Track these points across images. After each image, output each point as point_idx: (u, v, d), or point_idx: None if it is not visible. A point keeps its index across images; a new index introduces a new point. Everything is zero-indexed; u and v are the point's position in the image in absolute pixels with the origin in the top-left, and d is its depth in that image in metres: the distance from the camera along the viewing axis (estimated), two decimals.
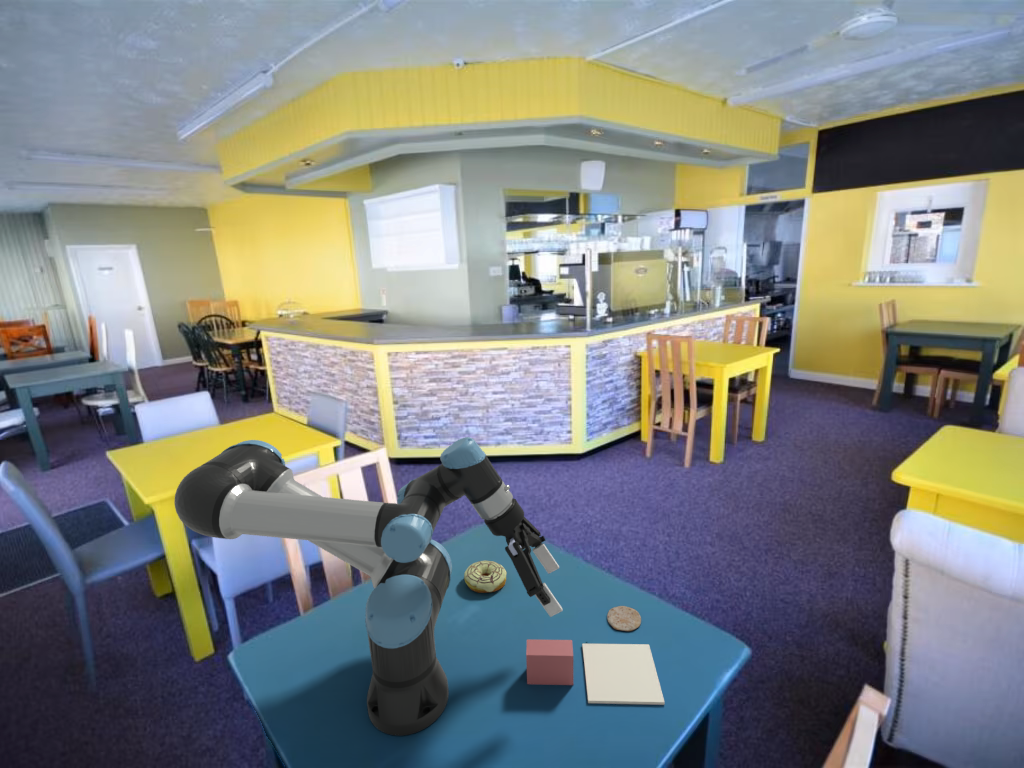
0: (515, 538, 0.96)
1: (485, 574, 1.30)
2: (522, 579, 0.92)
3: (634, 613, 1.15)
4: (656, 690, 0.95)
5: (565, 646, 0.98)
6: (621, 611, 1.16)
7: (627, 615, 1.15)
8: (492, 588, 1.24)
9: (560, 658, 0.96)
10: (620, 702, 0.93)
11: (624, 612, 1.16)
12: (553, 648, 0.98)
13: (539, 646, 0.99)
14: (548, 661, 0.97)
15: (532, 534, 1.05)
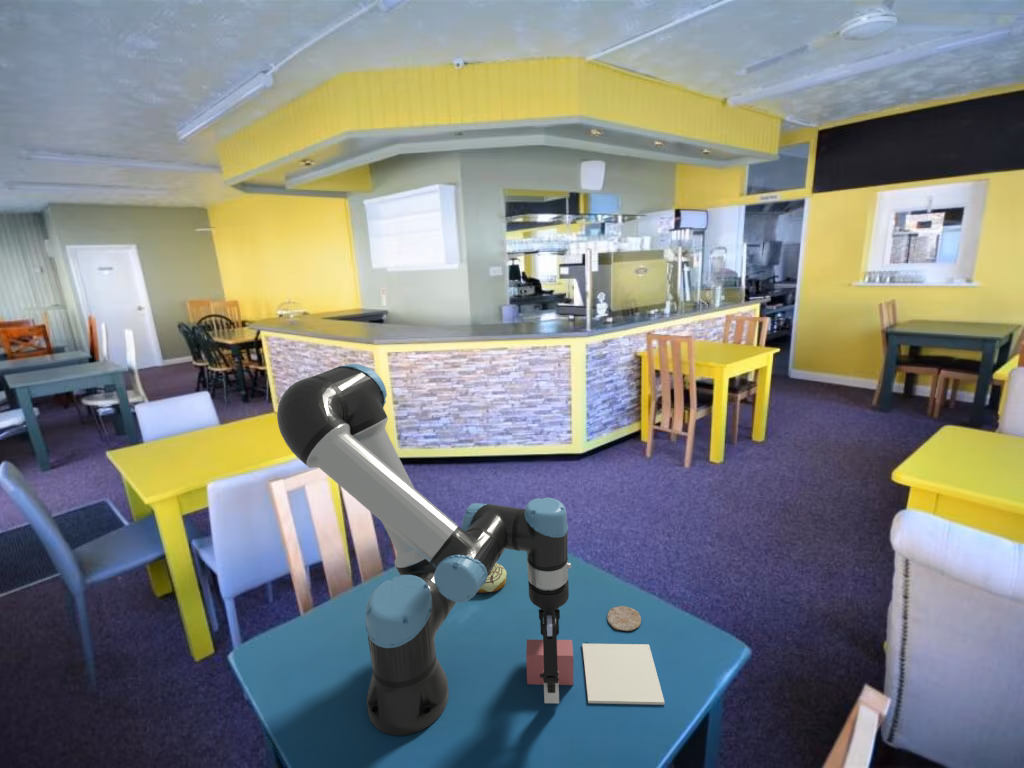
0: (553, 618, 0.92)
1: None
2: (545, 663, 0.89)
3: (634, 614, 1.15)
4: (656, 690, 0.95)
5: (565, 646, 0.98)
6: (621, 611, 1.16)
7: (627, 615, 1.15)
8: (492, 588, 1.24)
9: (560, 658, 0.96)
10: (620, 702, 0.93)
11: (624, 612, 1.16)
12: None
13: (539, 646, 0.99)
14: None
15: None
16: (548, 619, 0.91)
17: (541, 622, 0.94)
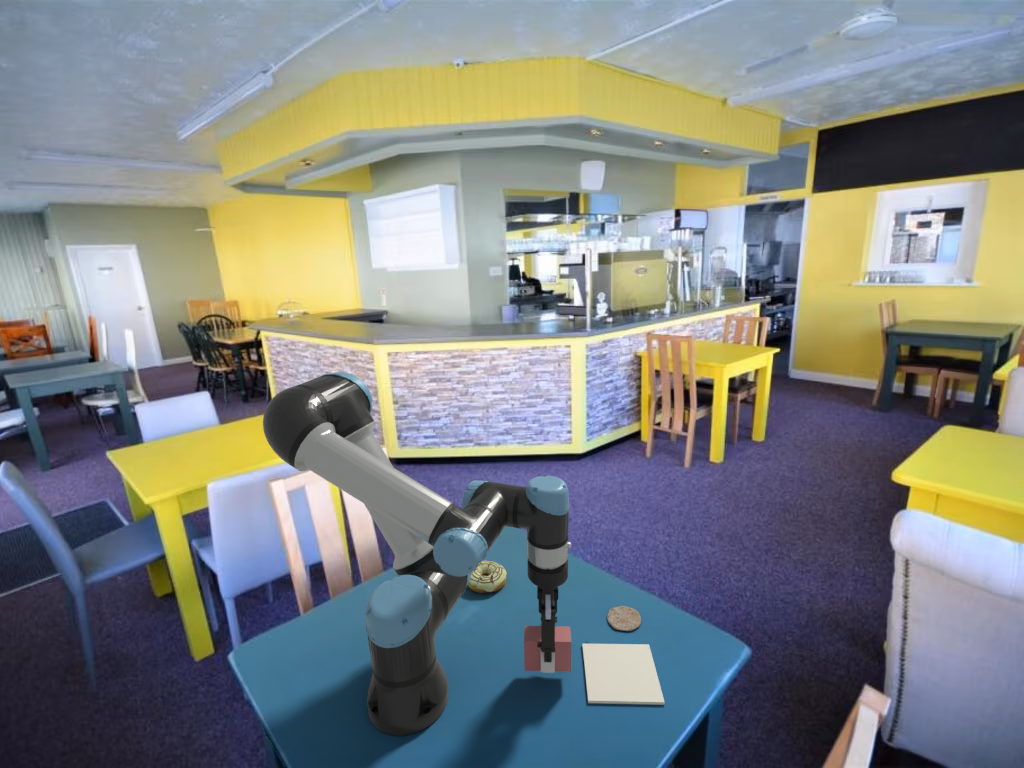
0: (552, 600, 0.91)
1: (485, 574, 1.30)
2: (542, 639, 0.91)
3: (634, 613, 1.15)
4: (656, 690, 0.95)
5: (563, 633, 0.98)
6: (621, 611, 1.16)
7: (627, 615, 1.15)
8: (492, 588, 1.24)
9: (558, 644, 0.96)
10: (620, 702, 0.93)
11: (624, 612, 1.16)
12: None
13: (537, 632, 0.98)
14: None
15: None
16: (547, 602, 0.90)
17: (539, 602, 0.93)
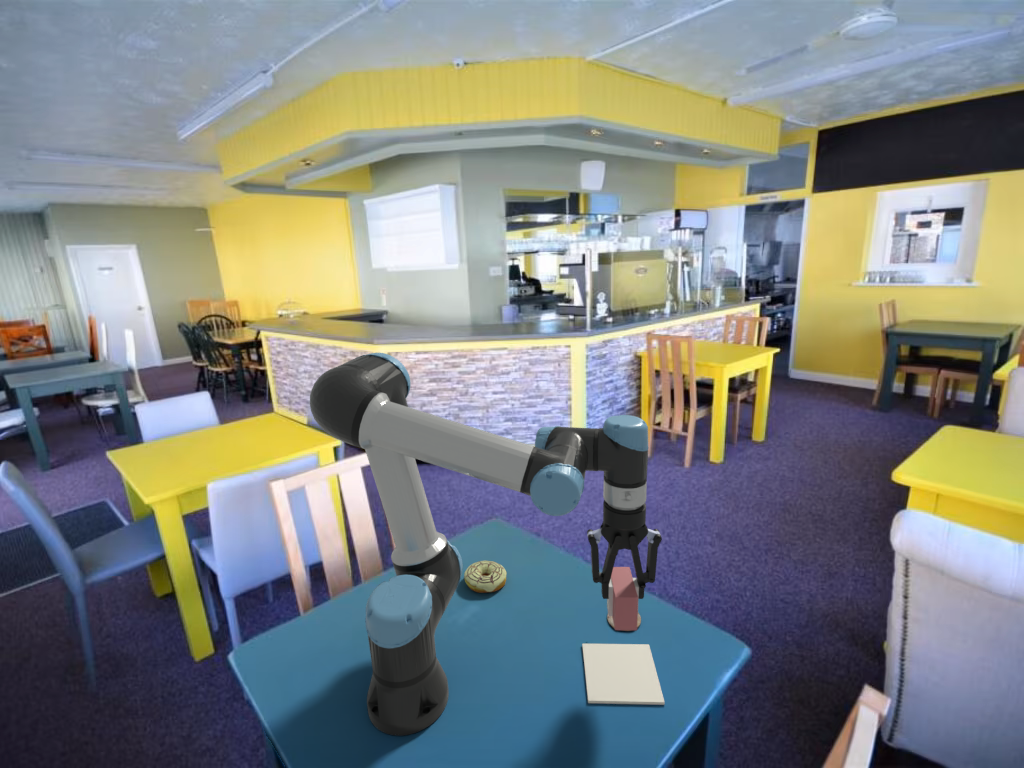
0: (601, 532, 0.91)
1: (485, 574, 1.30)
2: (591, 560, 0.95)
3: None
4: (656, 690, 0.95)
5: (626, 592, 0.92)
6: None
7: None
8: (492, 588, 1.24)
9: (613, 591, 0.93)
10: (620, 702, 0.93)
11: None
12: (622, 584, 0.94)
13: (622, 575, 0.96)
14: None
15: (637, 562, 0.92)
16: (598, 530, 0.92)
17: None
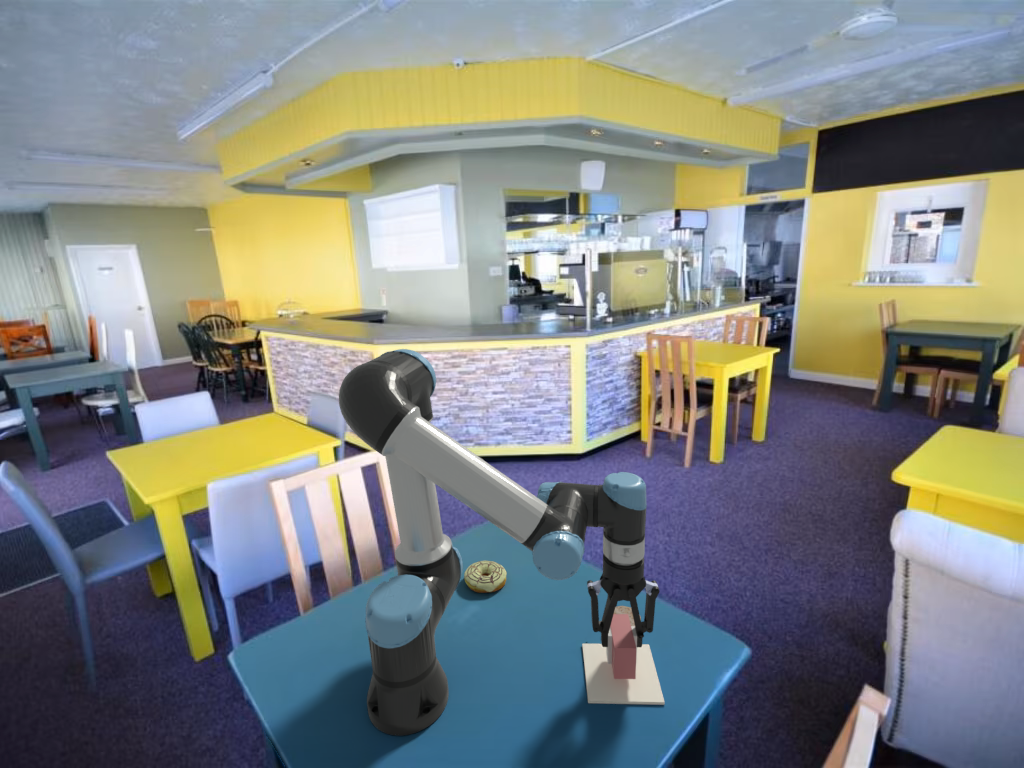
0: (601, 584, 0.94)
1: (485, 574, 1.30)
2: (591, 609, 0.98)
3: None
4: (656, 690, 0.95)
5: (625, 642, 0.94)
6: (620, 611, 1.16)
7: None
8: (492, 588, 1.24)
9: (612, 641, 0.96)
10: (620, 702, 0.93)
11: (623, 612, 1.16)
12: (620, 633, 0.97)
13: (621, 623, 0.99)
14: None
15: (635, 613, 0.95)
16: (598, 581, 0.95)
17: None
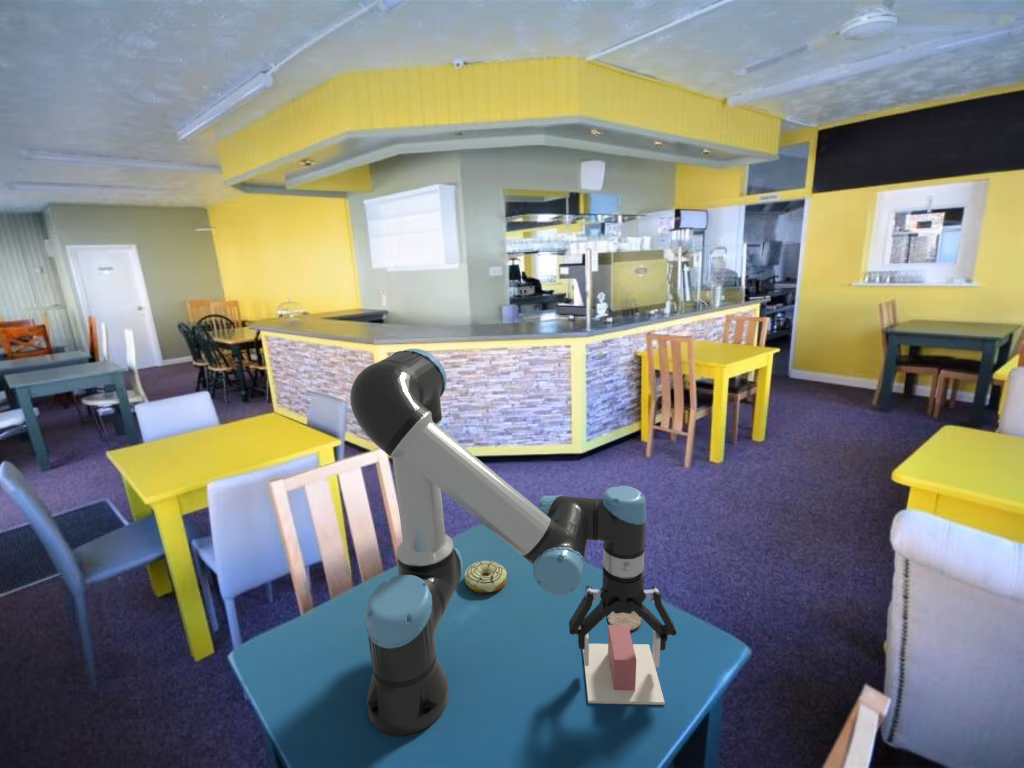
0: (601, 594, 0.95)
1: (485, 574, 1.30)
2: (575, 612, 0.98)
3: (633, 613, 1.15)
4: (656, 690, 0.95)
5: (625, 654, 0.95)
6: None
7: (627, 614, 1.15)
8: (492, 588, 1.24)
9: (612, 652, 0.96)
10: (620, 702, 0.93)
11: None
12: (620, 644, 0.97)
13: (621, 634, 1.00)
14: (611, 646, 0.99)
15: (648, 620, 0.95)
16: (598, 590, 0.96)
17: None
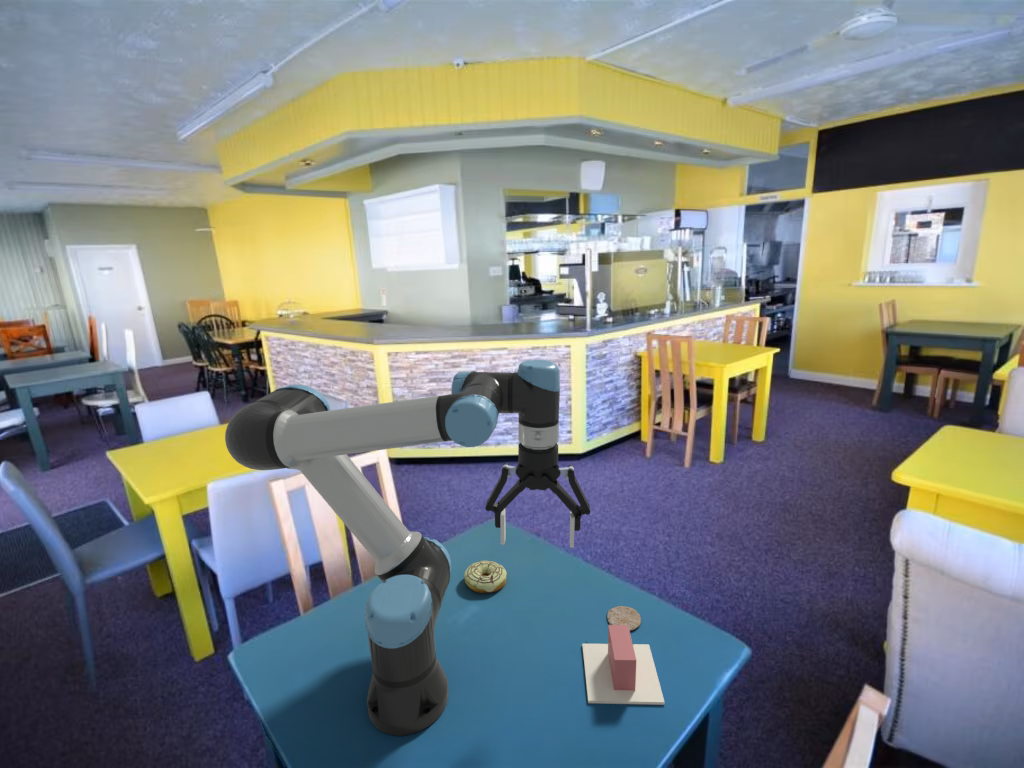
0: (516, 469, 0.95)
1: (485, 574, 1.30)
2: None
3: (633, 612, 1.16)
4: (656, 690, 0.95)
5: (625, 654, 0.95)
6: (619, 611, 1.16)
7: (627, 614, 1.15)
8: (492, 588, 1.24)
9: (612, 652, 0.96)
10: (620, 702, 0.93)
11: (623, 612, 1.16)
12: (620, 644, 0.97)
13: (621, 634, 1.00)
14: (611, 646, 0.99)
15: (562, 497, 0.96)
16: (514, 467, 0.96)
17: None
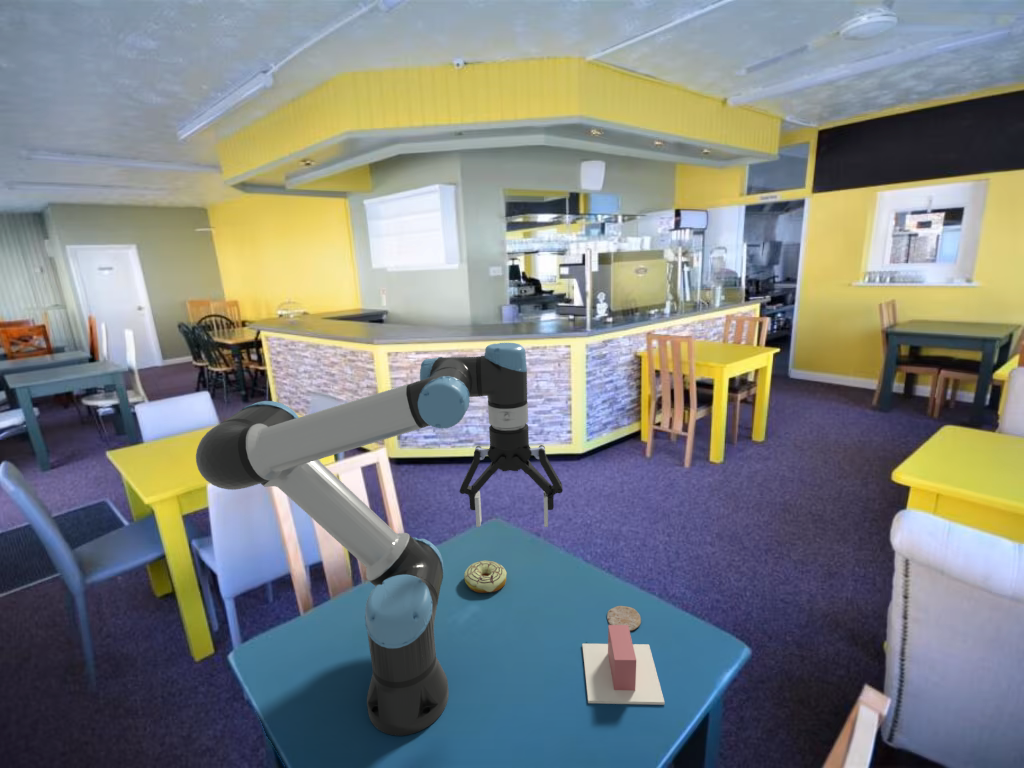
0: (488, 451, 0.97)
1: (485, 574, 1.30)
2: None
3: (632, 612, 1.16)
4: (656, 690, 0.95)
5: (625, 654, 0.95)
6: (619, 611, 1.16)
7: (626, 614, 1.15)
8: (492, 588, 1.24)
9: (612, 652, 0.96)
10: (620, 702, 0.93)
11: (623, 612, 1.16)
12: (620, 644, 0.97)
13: (621, 634, 1.00)
14: (611, 646, 0.99)
15: (534, 477, 0.97)
16: (486, 449, 0.98)
17: None
